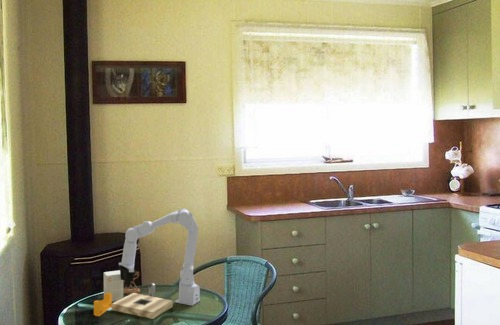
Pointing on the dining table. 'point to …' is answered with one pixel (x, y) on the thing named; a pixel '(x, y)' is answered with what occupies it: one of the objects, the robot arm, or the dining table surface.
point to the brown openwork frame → (128, 291)
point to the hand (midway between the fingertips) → (125, 282)
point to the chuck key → (152, 289)
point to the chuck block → (142, 305)
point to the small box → (113, 284)
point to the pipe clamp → (103, 304)
